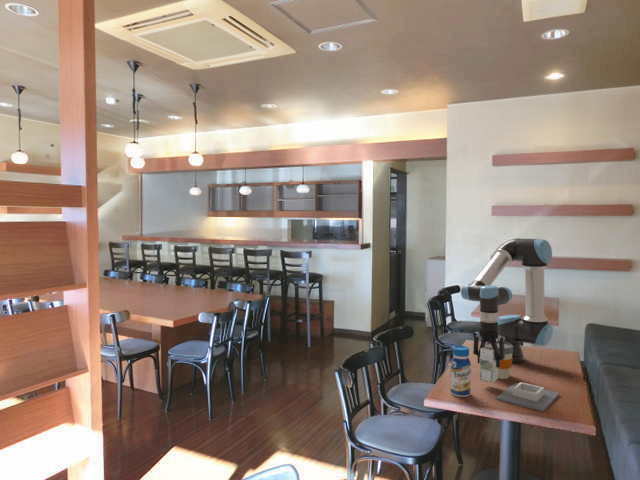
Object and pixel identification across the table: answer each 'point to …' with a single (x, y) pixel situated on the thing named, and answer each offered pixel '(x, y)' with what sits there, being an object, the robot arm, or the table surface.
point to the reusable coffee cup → (504, 360)
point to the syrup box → (487, 364)
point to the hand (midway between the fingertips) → (488, 372)
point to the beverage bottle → (460, 372)
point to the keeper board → (528, 396)
